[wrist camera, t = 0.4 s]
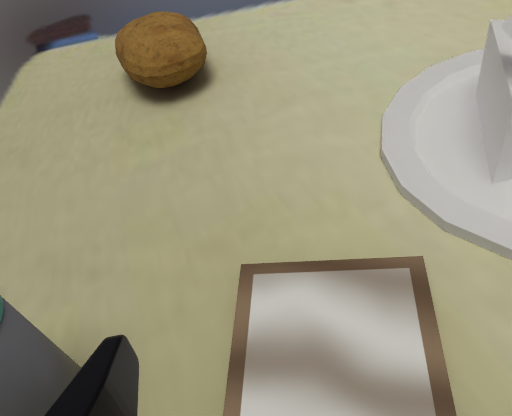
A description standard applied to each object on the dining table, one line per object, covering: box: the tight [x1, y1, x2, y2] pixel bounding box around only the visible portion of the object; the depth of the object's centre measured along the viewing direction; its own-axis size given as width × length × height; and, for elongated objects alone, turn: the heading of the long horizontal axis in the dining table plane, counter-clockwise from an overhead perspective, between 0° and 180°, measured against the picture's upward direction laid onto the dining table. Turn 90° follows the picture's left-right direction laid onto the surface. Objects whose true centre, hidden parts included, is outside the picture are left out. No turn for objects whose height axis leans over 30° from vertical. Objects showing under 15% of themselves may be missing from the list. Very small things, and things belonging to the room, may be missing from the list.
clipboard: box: [223, 256, 456, 416], centre depth 25 cm, size 16×12×1 cm
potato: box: [115, 12, 207, 88], centre depth 49 cm, size 9×13×7 cm
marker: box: [0, 295, 81, 416], centre depth 22 cm, size 4×4×14 cm
